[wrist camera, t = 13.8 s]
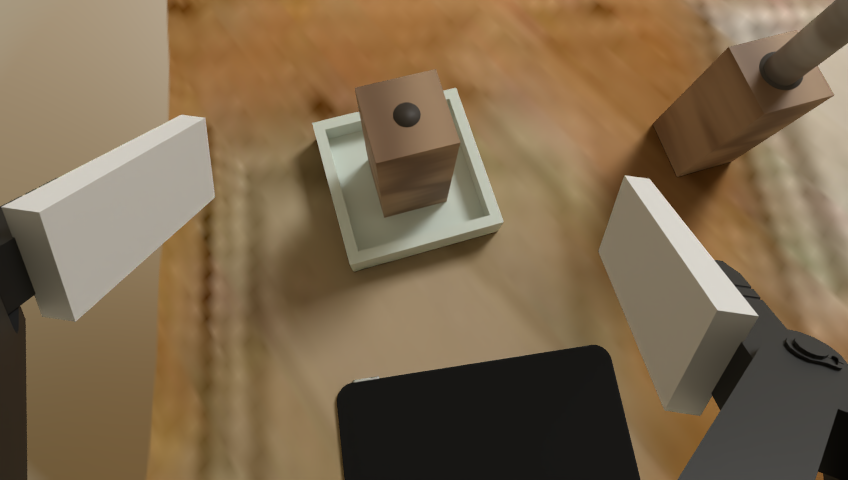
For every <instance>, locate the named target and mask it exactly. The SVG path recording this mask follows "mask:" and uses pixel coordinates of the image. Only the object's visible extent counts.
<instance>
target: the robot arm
mask: <svg viewBox="0 0 848 480" xmlns="http://www.w3.org/2000/svg"><path fill="white" fill-rule="evenodd" d="M214 198H215V194H214V186H213V177H212V169H211V161H210V153H209V145H208V137H207V129H206V121H205V118H202V117H194V116H187V115H180V116H178V117H176V118H174V119H172V120H170V121H168V122H166V123H164V124H162V125H160V126H158V127H156V128H155V129H153V130H151V131H149V132H147V133H145V134H143V135H141V136H139V137H137V138H135V139H133V140H131V141H129V142H127V143H125V144H123V145H121V146H119V147H118V148H115V149H113V150H112V151H110V152H108V153H106V154H104V155H102V156H100V157H98V158H96V159H94V160H92V161H90V162H88V163H86V164H84V165H82V166H80V167H78V168H77V169H74V170H73V171H71V172H69V173H67V174H65V175H63V176H61V177H59V178H55V179H53V180H52V181H49V182H47V183H46V184H44V185H42V186H40V187H39V188H37V189H34V190H32V191H30V192H28V193H26V194H25V195H24V196H20V197H18V198H16V199H14V200H12V201H10V202H8V203H6V204H4V205H2V206H0V480H27V418H26V417H27V414H26V331H25V330H26V329H25V328H26V325H25V317H24V314H23V312H22V309H21V307H20V305H22V304H23V303H24V302H25V301H27V300H28V299H30V298H31V297H32V296H35V298H36V301H37V304H38V306H39V309H40V312H41V314H42V317H49V318H55V319H62V320H68V321H75V322H76V321H77V320H78V319H79V318H80V317H81V316H82V315H83V314H85V312H87V311H88V310H89V309H90V308H91V307H92V306H94V304H96V303H97V302H98V301H99V300H100V299H101V298H102V297H103V296H105V295H106V294H107V293H108V292H109V291H110V290H111V289H113V288H114V287H115V286H116V285H117V284H118V283H119V282H120V281H122V280H123V279H124V278H125V277H126V276H127V275H128V274H129V273H131V272H132V271H133V270H134V269H135V268H136V267H137V266H138V265H140V264H141V263H142V262H143V261H144V260H145V259H146V258H147V257H148V256H149V255H151V254H152V253H153V252H154V251H155V250H156V249H157V248H159V247H160V246H161V245H162V244H163V243H164V242H165V241H166V240H168V239H169V238H170V237H171V236H172V235H173V234H174V233H175V232H177V231H178V230H179V229H180V228H181V227H182V226H183V225H184V224H185V223H187V222H188V221H189V220H190V219H191V218H192V217H193V216H194V215H196V214H197V213H198V212H199V211H200V210H201V209H202V208H203V207H205V206H206V205H207V204H208V203H209V202H210V201H211V200H212V199H214ZM598 252H599V254H600V257H601V259H602V262H603V264H604V266H605V269H606V271H607V274H608V276H609V278H610V281H611V283H612V286H613V288H614V290H615V293H616V295H617V298H618V300H619V302H620V305H621V307H622V310H623V312H624V314H625V317H626V319H627V321H628V324H629V326H630V329H631V331H632V333H633V336H634V338H635V341H636V343H637V345H638V348H639V350H640V353H641V355H642V357H643V360H644V362H645V365H646V367H647V369H648V372H649V374H650V377H651V379H652V381H653V384H654V386H655V389H656V391H657V393H658V396H659V398H660V401H661V403H662V405H663V408H664V410H665V411H672V412H679V413H685V414H692V415H699V416H700V415H701V414H702V412H703V410H704V409H705V407H706V405H707V404H708V402H709V400H710V398H711V397H712V396H713V398H714V399H715V401H716V403H717V405H718V407H719V409H720V410H721V411H720V412H719V414H718V416H717V417H716V419H715V420H714V422H713V424H712V425H711V427H710V428H709V430H708V432H707V433H706V435H705V436H704V438H703V440H702V441H701V443H700V444H699V446H698V448H697V449H696V451H695V452H694V454H693V456H692V457H691V459H690V460H689V462H688V464H687V465H686V467H685V469H684V470H683V472H682V473H681V475H680V477H679V478H678V480H815V478H816V475H817V472H818V471H819V472H821V473H823V477H824V480H848V364H847V363H846V361H845V360H844V359H843V357H842V356H841V355H840V354H839V353H837V352H836V351H835V350H833V349H832V348H831V347H830V346H828V345H826V344H825V343H823V342H821V341H819V340H817V339H816V338H814V337H811V336H809V335H806V334H803V333H801V332H797V331H792V330H788V329H786V327H785V326H784V325H783V324H782V323H781V321H780V320H779V319H778V318H777V317H776V316H775V314H774V313H773V312H772V311H771V310H770V308H769V307H768V306H767V305H766V304H765V302H764V301H763V300H760V297H759V295H758V294H757V293H756V292H755V291H754V289H751V286H750V285H749V284H748V282H747V281H746V280H745V279H744V278H743V276H742V275H741V274H740V273H739V272H737V271H736V270H734V269H733V268H731V267H730V266H729V265H727V264H726V263H724V262H723V261H718V260H714V259H713V258H712V257H711V255H710V254H709V253H708V252H707V250H706V249H705V248H704V247H703V245H702V244H701V243H700V242H699V240H698V239H697V238H696V237H695V235H694V234H693V233H692V232H691V230H690V229H689V228H688V227H687V225H686V224H685V223H684V221H683V220H682V219H681V218H680V216H679V215H678V214H677V213H676V211H675V210H674V209H673V208H672V206H671V205H670V204H669V203H668V201H667V200H666V199H665V198H664V196H663V195H662V194H661V193H660V191H659V190H658V189H657V188H656V186H655V185H654V184H653V182H652V181H651V180H650V179H648V178H640V177H633V176H626V175H624V178H623V181H622V184H621V187H620V190H619V193H618V195H617V198H616V201H615V204H614V207H613V210H612V213H611V216H610V219H609V222H608V225H607V228H606V231H605V233H604V236H603V239H602V242H601V245H600V248H599V251H598Z"/></svg>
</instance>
